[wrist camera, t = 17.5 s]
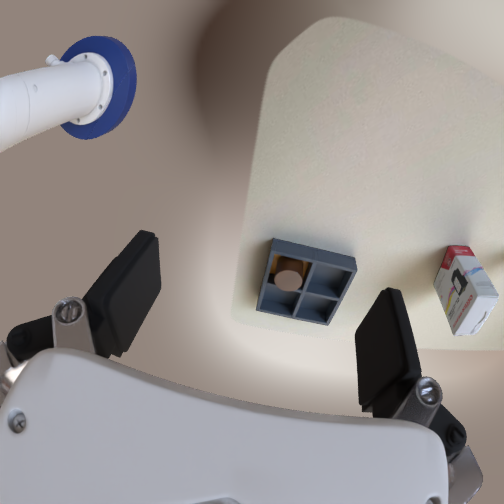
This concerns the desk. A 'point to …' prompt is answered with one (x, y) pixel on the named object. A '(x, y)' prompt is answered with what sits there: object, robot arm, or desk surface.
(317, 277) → the grid
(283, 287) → the cylinder
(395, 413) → the robot arm
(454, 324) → the ink box
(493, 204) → the desk surface
